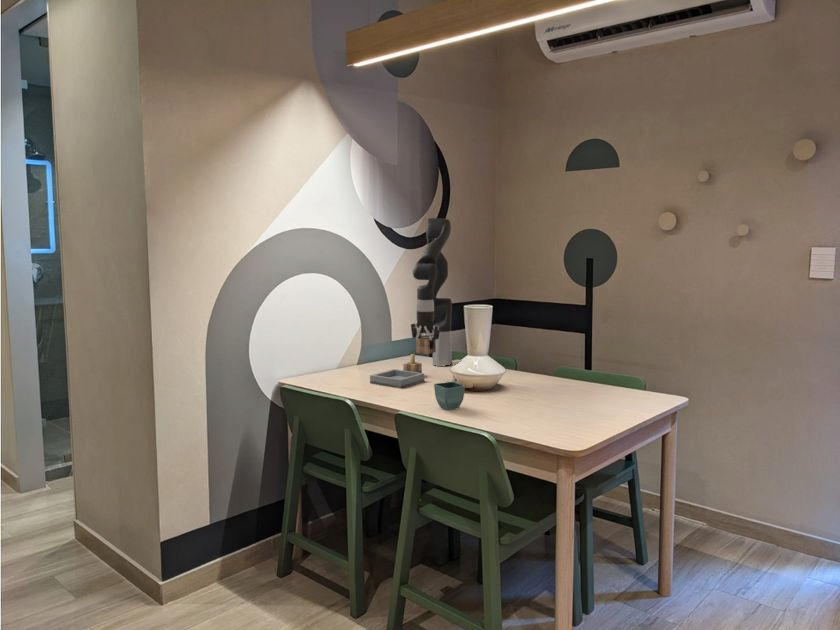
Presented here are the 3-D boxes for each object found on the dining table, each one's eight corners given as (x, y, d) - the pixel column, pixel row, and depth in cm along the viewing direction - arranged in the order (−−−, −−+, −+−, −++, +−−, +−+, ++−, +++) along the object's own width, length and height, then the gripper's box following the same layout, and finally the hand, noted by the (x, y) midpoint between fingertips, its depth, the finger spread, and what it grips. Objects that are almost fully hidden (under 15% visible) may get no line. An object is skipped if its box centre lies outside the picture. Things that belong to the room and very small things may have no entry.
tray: (394, 376, 311) (393, 369, 311) (424, 381, 302) (424, 373, 301) (370, 383, 298) (370, 375, 297) (401, 388, 288) (401, 380, 288)
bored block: (424, 350, 300) (424, 337, 299) (435, 352, 297) (435, 338, 296) (416, 352, 295) (416, 339, 295) (427, 354, 292) (427, 340, 291)
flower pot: (465, 409, 254) (465, 385, 253) (445, 412, 250) (445, 388, 248) (453, 404, 261) (453, 381, 260) (433, 407, 257) (433, 383, 256)
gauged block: (411, 374, 316) (411, 353, 315) (421, 375, 313) (421, 354, 312) (403, 376, 311) (403, 354, 310) (414, 378, 308) (413, 356, 307)
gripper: (444, 310, 292) (444, 348, 295) (416, 308, 301) (416, 345, 303) (434, 311, 286) (434, 351, 288) (406, 309, 294) (406, 348, 297)
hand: (425, 348), depth 296 cm, fingers closed on bored block, 6 cm apart
